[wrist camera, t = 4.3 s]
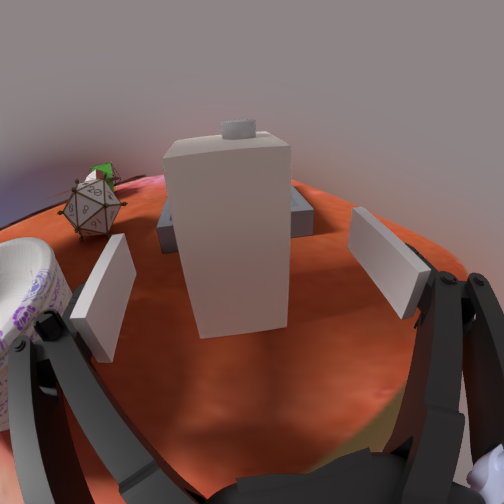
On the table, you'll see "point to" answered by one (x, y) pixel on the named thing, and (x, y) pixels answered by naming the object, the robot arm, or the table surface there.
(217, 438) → the table surface
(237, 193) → the carton
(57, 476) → the robot arm
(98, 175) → the geometric puzzle
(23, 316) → the white round bowl
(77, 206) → the game die
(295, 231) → the tray
